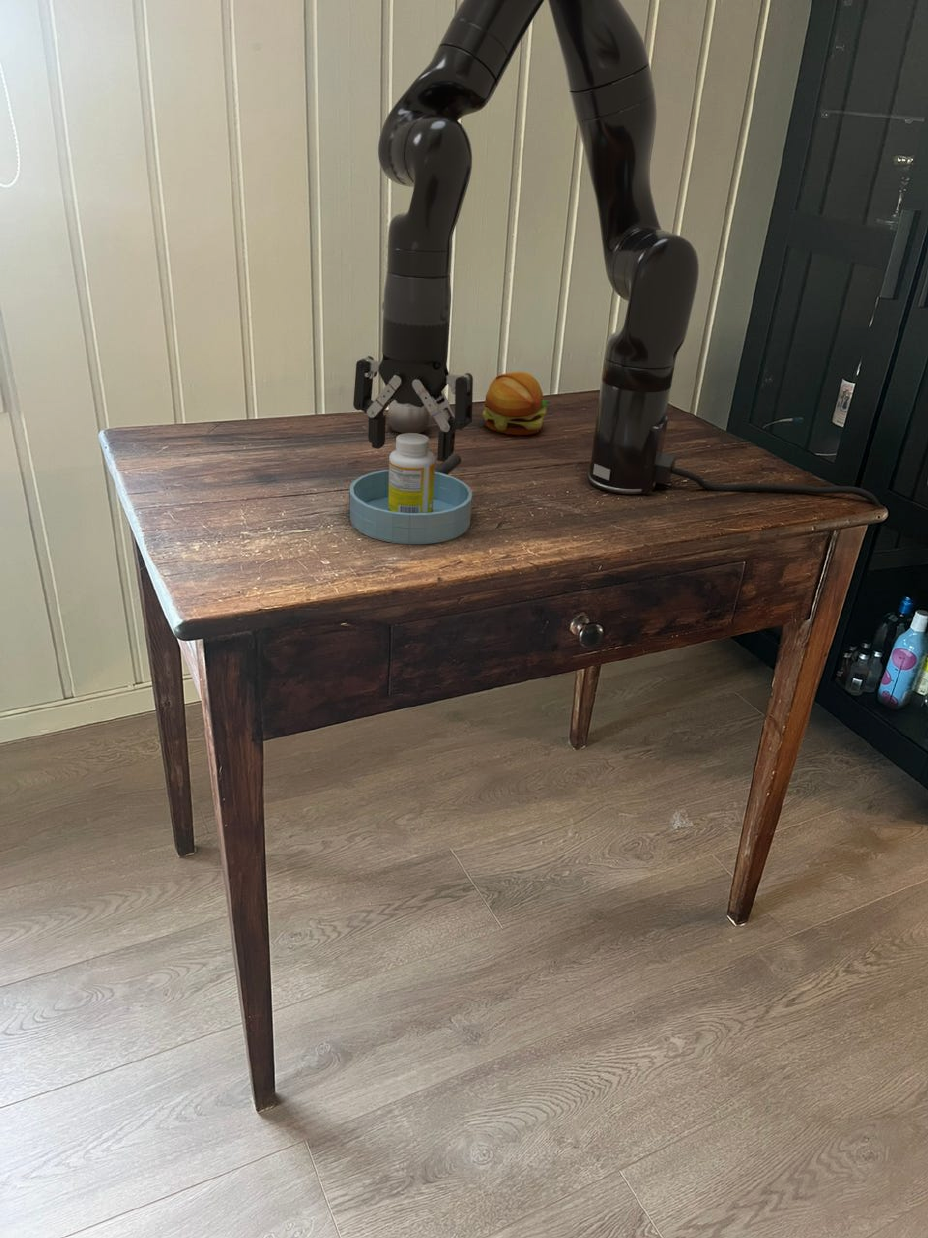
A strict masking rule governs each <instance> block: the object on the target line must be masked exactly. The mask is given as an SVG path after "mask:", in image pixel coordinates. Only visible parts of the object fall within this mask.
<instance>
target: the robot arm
mask: <svg viewBox="0 0 928 1238" xmlns="http://www.w3.org/2000/svg"><path fill="white" fill-rule="evenodd" d="M544 2H545V0H462V1H461V3H460V4H459V6H458V8H457V10H456V12H455V13H454V15H453V17H452V19H451V21H450V23H449V25H448V27H447V29H446V31H445V33H444V34H443V37H442V38H441V41H440V43H439V45H438V47H437V48H436V50H435V52H434V54H433V57H432V59H431V61H430V62H429V64H427V66H426V68H424V70H423V71H422V72H421V73H420V74H419V75H418V76H417V77H416V78H415V79H414V81H413V82H412V83H411V84H410V86H409V87H408V88H407V90H405V92H404V93H403V94H402V95H401V97H400V98H399V99H398V100H397V102H396V103H395V105H394V106H392V108H391V110H390V111H389V113H388V114H387V117H386V118H385V120H384V122H383V124H382V127H381V129H380V132H379V137H378V141H377V158H378V163H379V166H380V168H381V170H382V172H383V173H384V175H385V176H386V177H387V179H389V180H390V181H392V182H394V183H396V184H397V185H401V186H404V187H411V188H413V189H412V194H411V198H410V202H409V206H408V209H407V211H405V212H400V213H397V214H395V215H394V216H393V217H392V218H391V219H390V221H389V224H388V230H387V247H386V249H387V250H386V274H385V282H384V288H383V301H382V305H381V306H382V307H381V309H382V335H381V337H382V338H381V341H382V342H381V353H382V359H381V361H378V360H375V359H374V357H373V356H370V355H368V356H365V357H363V358H361V359H359V360H357V361H356V363H355V373H354V374H355V375H354V386H353V387H354V388H353V389H354V390H353V403H352V405H353V408H354V409H355V410H356V411H362V412H363V413H365V414H366V415H367V418H368V431H367V432H368V433H367V435H368V436H367V439H368V441H369V443H371V447H372V449H378V450H379V449H380V448H382V447H384V446H385V444H386V419H387V415H386V414H384V412H385V410H387V408H389V405H390V403H391V402H392V401H394V400H396V401H397V403H399V404H411V405H413V406H415V407H423V406H425V407H426V408H427V410H428V412H429V414H430V417H433V419H434V420H435V422H436V424H437V425H438V426H439V428H440V430H439V431H438V437H437V455H436V460H437V461H438V462H442V463H443V462H444V461H445V460H447V459H448V458H449V457H450V456H452V455H453V453H454V452H455V442H456V441H455V440H456V431H457V430H463V429H464V428H466V427H467V426H469V425H470V424H471V423H472V422H473V395H474V394H473V393H474V392H473V391H474V390H473V389H474V377H473V375H472V374H471V373H470V372H465V373H464V374H455V373H454V374H453V373H450V372H449V370H448V365H447V364H448V357H449V339H450V325H451V324H450V323H451V307H452V287H451V286H452V285H451V273H452V272H451V271H452V256H453V255H452V254H453V236H454V233H455V229H456V226H457V223H458V221H459V218H460V214H461V212H462V208H463V204H464V201H465V196H466V193H467V190H468V188H469V184H470V179H471V176H472V170H473V169H472V168H473V151H472V144H471V140H470V137H469V134H468V132H467V130H466V128H465V127H464V126H463V125H462V123H461V122H459V120H461V118H463V117H465V116H468V115H471V114H474V113H478V112H479V111H481V110H483V109H484V108H485V107H486V106H488V103H489V101H490V100H491V98H492V96H493V95H494V93H495V91H496V90H497V88H498V86H499V84H500V82H501V80H502V78H503V76H504V74H505V72H506V70H507V68H508V66H509V64H510V63H511V60H512V58H513V56H514V55H515V53H516V51H517V49H518V47H519V45H520V43H521V41H522V40H523V38H524V36H525V34H526V33H527V31H528V28H529V27H530V26H531V23H532V22H533V20H534V18H535V16H537V13H538V12H539V10H540V8H541V7H542V5H543V3H544ZM547 2H548V6H549V11H550V14H551V18H552V23H553V27H554V30H555V34H556V38H557V42H558V46H559V51H560V53H561V57H562V62H563V66H564V71H565V78H566V82H567V87H568V90H569V96H570V99H571V104H572V108H573V112H574V116H575V117H574V118H575V120H576V121H575V122H576V125H577V129H578V132H579V136H580V139H581V144H582V147H583V152H584V157H585V161H586V165H587V169H588V174H589V177H590V181H591V185H592V188H593V193H594V197H595V201H596V202H595V203H596V208H597V214H598V220H599V228H600V229H599V230H600V236H601V244H602V251H603V252H602V253H603V259H604V260H603V261H604V266H605V267H604V268H605V272H606V276H607V280H608V282H609V284H610V286H611V288H612V289H613V291H614V292H615V293H616V294H617V295H618V296H619V297H620V298H622V299H623V300H626V301H627V308H626V312H625V317H624V322H623V326H622V328H621V329H620V330H618V331H615V332H613V333H611V334H610V335H609V336H608V338H607V340H606V344H605V352H604V361H603V369H602V375H601V383H600V390H599V398H598V403H597V404H598V405H597V412H596V419H595V427H594V436H593V443H592V450H591V458H590V462H589V463H590V464H589V470H588V474H587V480H588V482H589V483H590V484H591V485H592V486H593V487H595V488H598V489H600V490H602V491H606V492H610V493H614V494H619V495H620V494H621V495H646V496H650V495H651V493H652V491H653V490H654V489H655V488H656V485H657V484H662V485H667V483H668V482H669V480H670V478H671V477H672V474H673V475H675V476H679V477H682V478H686V479H689V480H692V481H694V482H695V483H696V484H697V485H698V486H699V487H701V489H705V490H708V491H714V492H739V491H740V492H743V491H745V492H746V491H766V492H789V493H790V492H791V493H804V494H817V495H818V494H819V495H825V494H827V495H828V494H855V495H857V496H861V497H863V498H865V499H867V501H869V502H870V503H871V504H872V505H876V506H879V505H881V503H880V502H879V500H878V498H877V497H876V496H875V495H874V494H873V493H871V492H870V491H868V490H866V489H864V488H861V487H857V486H848V485H847V486H846V485H844V486H843V485H841V486H808V485H795V484H772V483H771V484H770V483H741V484H740V483H739V484H715V483H711V482H707V481H705V480H704V478H702V477H700V475H698V474H696V473H693V472H691V471H688V470H685V469H682V468H678V467H675V465H676V457H677V454H672V453H665V452H663V450H664V445H665V439H666V435H667V427H668V422H669V417H668V416H667V414H668V413H667V412H668V407H669V402H670V401H669V400H670V394H671V388H672V383H673V377H674V371H675V366H676V365H675V364H676V360H677V356H678V352H679V351H680V349H681V348H682V346H683V344H684V343H685V340H686V337H687V334H688V329H689V324H690V320H691V315H692V312H693V307H694V303H695V298H696V293H697V287H698V281H699V274H700V273H699V271H700V269H699V268H700V265H699V257H698V254H697V250H696V249H695V247H694V245H693V244H692V243H691V242H690V241H689V240H688V239H686V238H685V237H683V236H681V235H679V234H676V233H672V232H669V231H665V230H663V229H662V227H661V224H660V222H659V217H658V215H657V211H656V206H655V202H654V198H653V193H652V188H651V179H650V178H651V177H650V171H651V170H650V167H651V160H652V153H653V148H654V147H653V146H654V142H655V135H656V126H657V102H656V93H655V92H656V91H655V88H654V87H655V86H654V82H653V75H652V71H651V65H650V62H649V55H648V52H647V48H646V45H645V42H644V39H643V37H642V35H641V33H640V31H639V29H638V27H637V25H636V24H635V22H634V21H633V19H632V17H631V16H630V14H629V13H628V11H627V9H626V8H625V6H624V5H623V3H622V2H621V1H620V0H547ZM378 374H379V376H380V378H381V380H382V381H383V383H384V385H385V387H383V389H382V390H381V391H380V393H378V395H377V396H376V397H375V400H373V399H372V397H373V384H374V378H376V377H377V376H378ZM447 386H449V387H450V391H451V393H452V394H453V395H454V412H453V410H452V409H451V407H450V406H451V404H450V401H449V399H448V398H447V396H446V394H445V392H444V389H445V388H446V387H447Z"/></svg>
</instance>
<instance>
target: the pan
mask: <svg viewBox="0 0 928 1238" xmlns="http://www.w3.org/2000/svg"><path fill="white" fill-rule="evenodd" d="M348 491H349V494H348V503H349V505H348V509H349V510H348V514H349V522H350V524H351V526H352V527H353V528H354V529H355V530H357V532H359V533H360V534H363V535H364V536H366V537H369V538H373V539H375V540H379V541H382V542H387V543H393V544H400V545H429V544H430V545H432V544H437V543H443V542H447V541H451V540H453V539H456V538H458V537H460V536H462V535H463V534H464V533H466V532H467V530H468V529H469V528H470V526H471V521H472V508H473V507H472V506H473V492H472V489H471V487H470V486H469V485H468V484H467V483H465V482H464V481H463V480H461V479H459V478H457V477H455V476H453V475H449V474H447V475H446V474H443V473H439V472H435V474H434V498H433V512H432V513H402V512H393V511H388V508H389V469H381V470H377V471H372V472H368V473H367V474H364V475H361V476H359V477H357V478H356V479H355V480H352V483H351V484H350V486H349V489H348Z"/></svg>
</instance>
